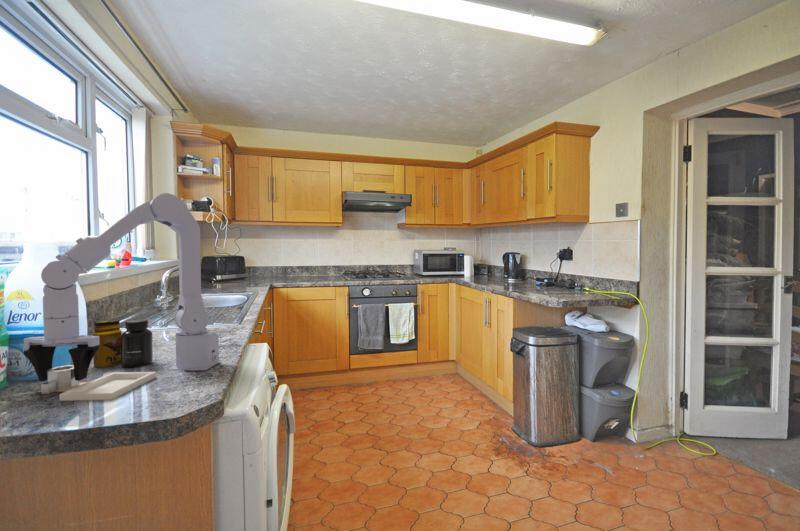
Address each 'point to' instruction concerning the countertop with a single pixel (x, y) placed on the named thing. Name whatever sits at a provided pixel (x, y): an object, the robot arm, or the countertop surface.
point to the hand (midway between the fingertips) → (63, 379)
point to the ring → (59, 379)
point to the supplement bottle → (136, 345)
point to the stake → (69, 388)
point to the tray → (108, 386)
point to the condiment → (108, 343)
